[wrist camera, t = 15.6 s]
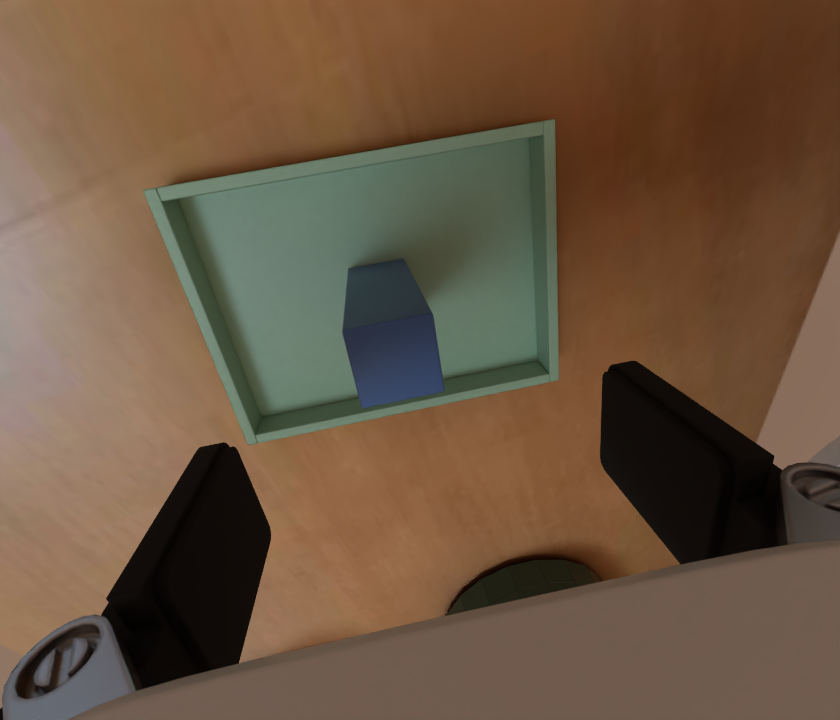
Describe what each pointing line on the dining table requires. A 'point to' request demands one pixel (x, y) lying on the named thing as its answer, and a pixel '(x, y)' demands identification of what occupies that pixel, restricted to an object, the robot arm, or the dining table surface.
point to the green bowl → (524, 583)
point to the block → (390, 335)
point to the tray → (363, 245)
